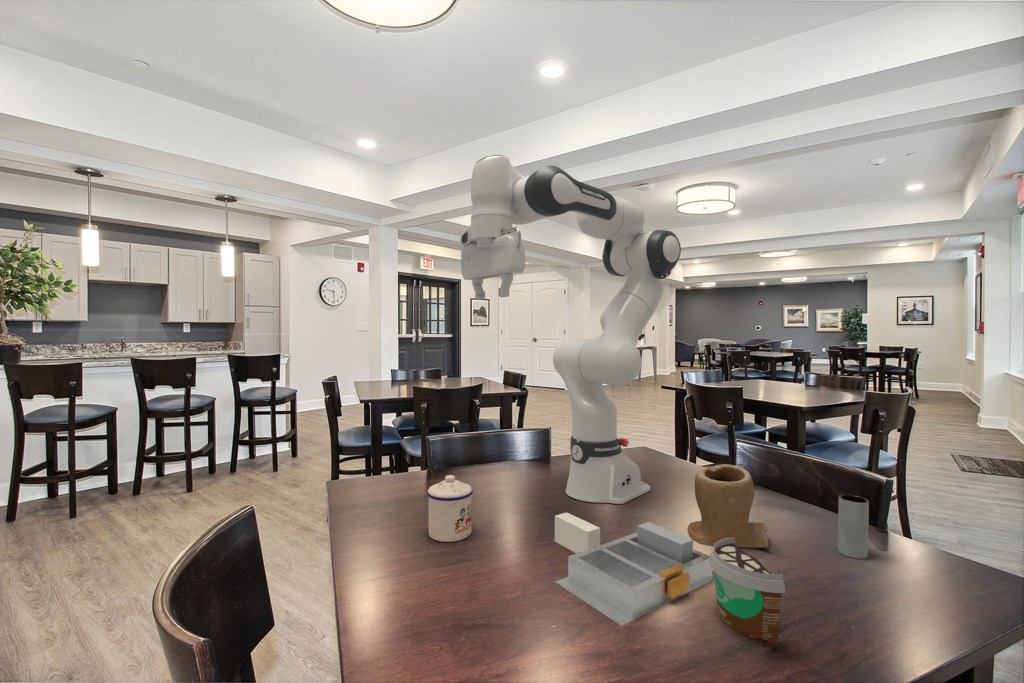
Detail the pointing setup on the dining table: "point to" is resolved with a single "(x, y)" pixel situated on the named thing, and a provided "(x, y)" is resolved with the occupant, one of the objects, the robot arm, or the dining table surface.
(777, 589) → the food container
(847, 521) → the grey hollow cylinder
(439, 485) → the teacup with lid
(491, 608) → the dining table surface
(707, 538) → the stone cup
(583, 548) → the beige rectangular block
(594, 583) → the rack
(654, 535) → the gray rectangular block
